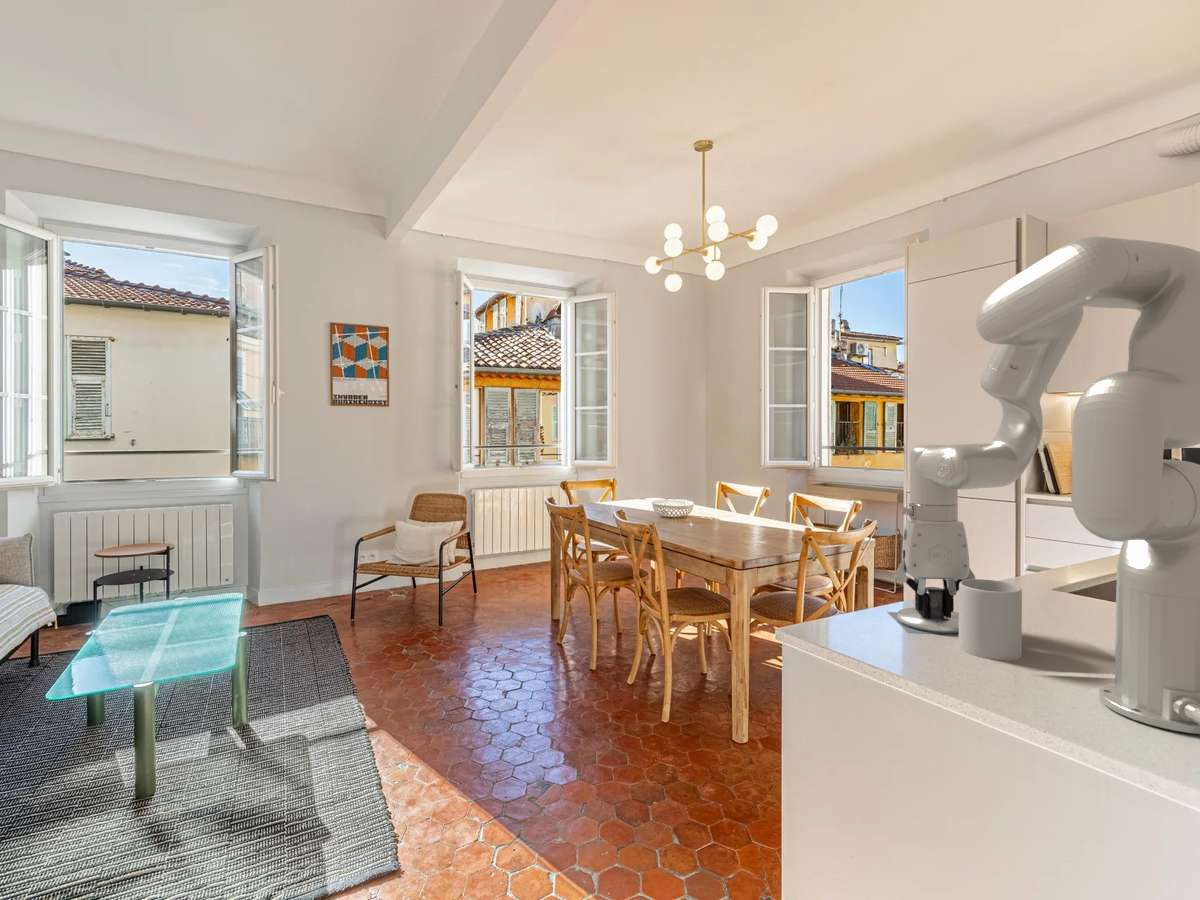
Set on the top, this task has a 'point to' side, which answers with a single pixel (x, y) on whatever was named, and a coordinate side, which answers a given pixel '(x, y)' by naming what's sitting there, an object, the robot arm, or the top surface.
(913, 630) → the mat
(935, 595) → the lid
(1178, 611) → the robot arm
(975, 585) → the mug
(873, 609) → the top surface
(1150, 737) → the top surface
